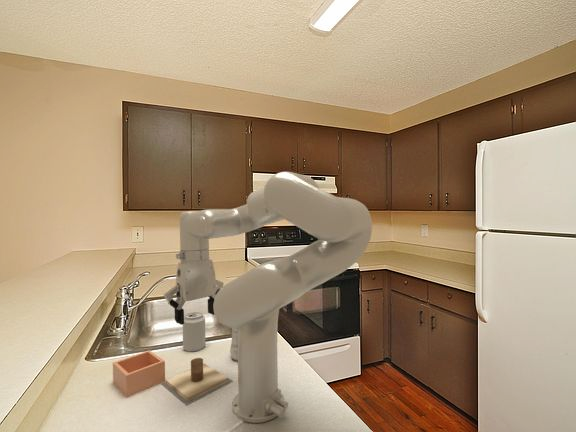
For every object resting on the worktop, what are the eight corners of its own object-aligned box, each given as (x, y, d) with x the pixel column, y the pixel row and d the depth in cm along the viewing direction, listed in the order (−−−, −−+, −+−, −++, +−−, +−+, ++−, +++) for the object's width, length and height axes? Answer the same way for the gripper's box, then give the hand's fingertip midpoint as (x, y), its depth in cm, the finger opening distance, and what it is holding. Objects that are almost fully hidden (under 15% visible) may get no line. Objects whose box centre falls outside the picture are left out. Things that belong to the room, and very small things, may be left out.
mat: (233, 383, 83) (233, 381, 83) (186, 407, 73) (186, 405, 73) (205, 365, 93) (205, 364, 93) (160, 385, 83) (160, 383, 83)
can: (197, 342, 110) (196, 309, 110) (209, 347, 106) (209, 313, 105) (178, 349, 104) (178, 314, 104) (191, 355, 100) (190, 319, 100)
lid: (228, 381, 83) (228, 359, 83) (188, 401, 75) (187, 377, 74) (204, 366, 92) (204, 347, 91) (165, 383, 83) (165, 361, 83)
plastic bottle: (240, 352, 102) (239, 293, 102) (255, 357, 98) (254, 296, 98) (225, 360, 97) (225, 297, 96) (241, 366, 93) (240, 301, 92)
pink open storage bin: (165, 382, 84) (164, 361, 84) (126, 399, 77) (126, 375, 77) (149, 370, 91) (149, 350, 91) (113, 384, 84) (112, 362, 83)
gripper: (170, 261, 74) (172, 331, 74) (229, 253, 87) (230, 313, 87) (157, 258, 79) (159, 324, 79) (214, 251, 92) (215, 308, 92)
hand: (196, 318), depth 83 cm, fingers open, 9 cm apart
